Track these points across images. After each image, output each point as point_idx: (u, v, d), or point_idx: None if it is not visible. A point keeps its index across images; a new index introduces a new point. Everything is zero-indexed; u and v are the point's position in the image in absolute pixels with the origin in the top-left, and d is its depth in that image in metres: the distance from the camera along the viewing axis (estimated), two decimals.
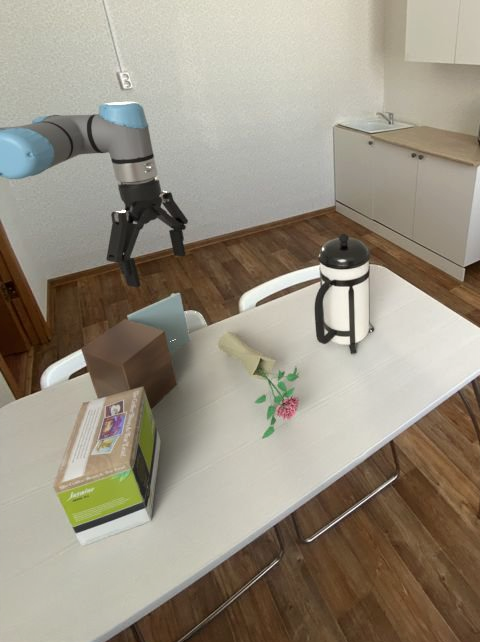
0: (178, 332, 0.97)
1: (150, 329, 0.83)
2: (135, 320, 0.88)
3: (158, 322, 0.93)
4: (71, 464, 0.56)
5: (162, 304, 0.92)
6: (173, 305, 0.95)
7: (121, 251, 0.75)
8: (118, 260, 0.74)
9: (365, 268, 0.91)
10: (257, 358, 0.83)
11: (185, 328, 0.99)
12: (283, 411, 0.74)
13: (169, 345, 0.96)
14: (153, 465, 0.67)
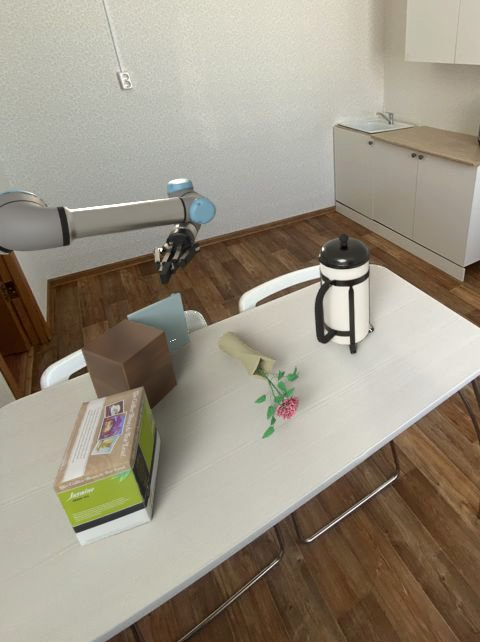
0: (178, 332, 0.97)
1: (150, 329, 0.83)
2: (135, 320, 0.88)
3: (158, 322, 0.93)
4: (71, 464, 0.56)
5: (162, 304, 0.92)
6: (173, 305, 0.95)
7: None
8: None
9: (365, 268, 0.91)
10: (257, 358, 0.83)
11: (185, 328, 0.99)
12: (283, 411, 0.74)
13: (169, 345, 0.96)
14: (153, 465, 0.66)
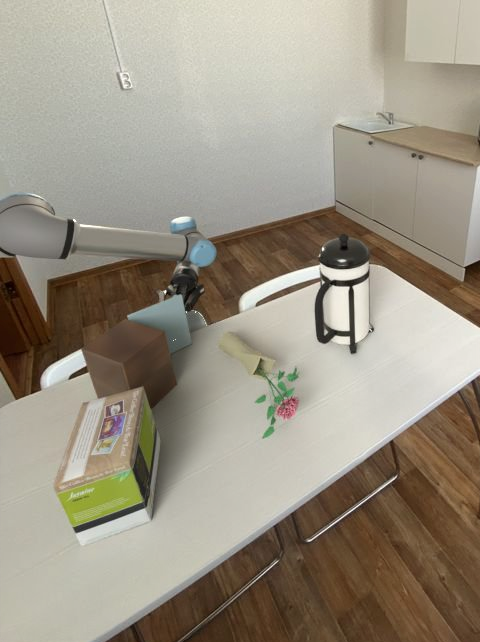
0: (179, 334, 0.97)
1: (150, 329, 0.83)
2: (135, 320, 0.88)
3: (158, 323, 0.92)
4: (71, 464, 0.56)
5: (163, 305, 0.92)
6: (174, 307, 0.94)
7: None
8: None
9: (365, 268, 0.91)
10: (257, 358, 0.83)
11: (187, 330, 0.98)
12: (283, 411, 0.74)
13: (170, 346, 0.96)
14: (153, 465, 0.66)
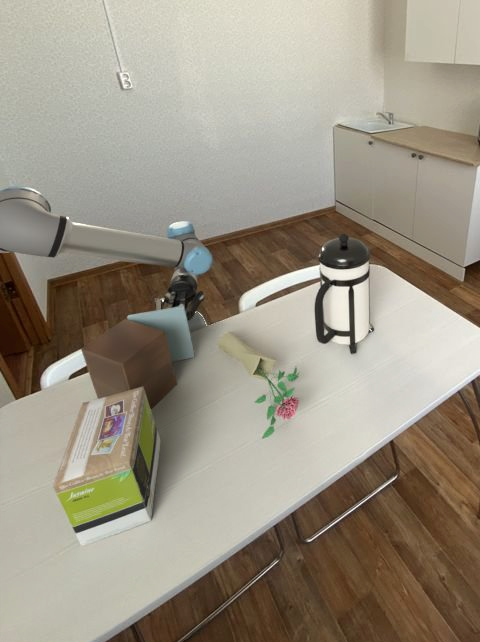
0: (181, 345, 0.93)
1: (150, 329, 0.83)
2: None
3: None
4: (72, 464, 0.56)
5: (163, 313, 0.89)
6: (176, 317, 0.90)
7: None
8: None
9: (365, 268, 0.91)
10: (257, 358, 0.83)
11: (189, 342, 0.93)
12: (283, 411, 0.74)
13: (170, 355, 0.93)
14: (153, 465, 0.67)
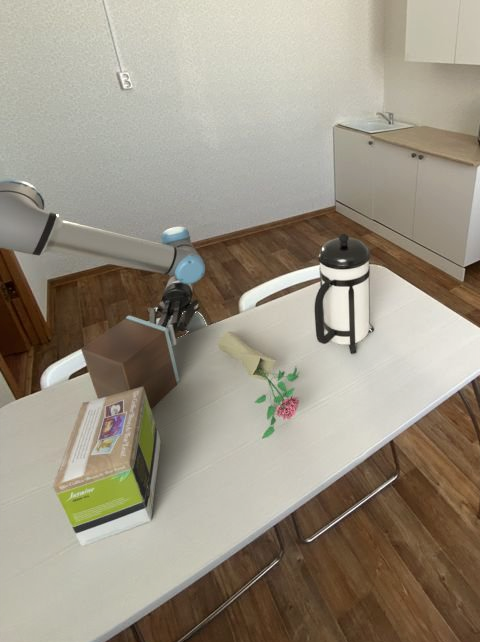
0: None
1: (150, 329, 0.83)
2: None
3: None
4: (71, 464, 0.56)
5: None
6: None
7: None
8: None
9: (365, 268, 0.91)
10: (257, 358, 0.83)
11: None
12: (283, 411, 0.74)
13: None
14: (153, 465, 0.66)
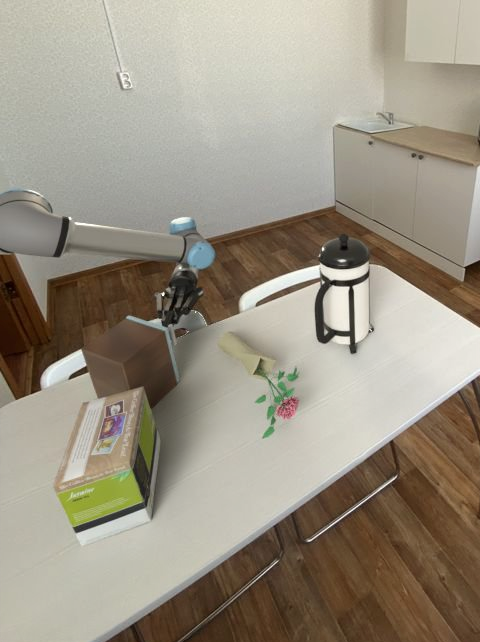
0: None
1: (150, 329, 0.83)
2: None
3: None
4: (72, 464, 0.56)
5: None
6: None
7: None
8: None
9: (365, 268, 0.91)
10: (257, 358, 0.83)
11: None
12: (283, 411, 0.74)
13: None
14: (153, 465, 0.66)
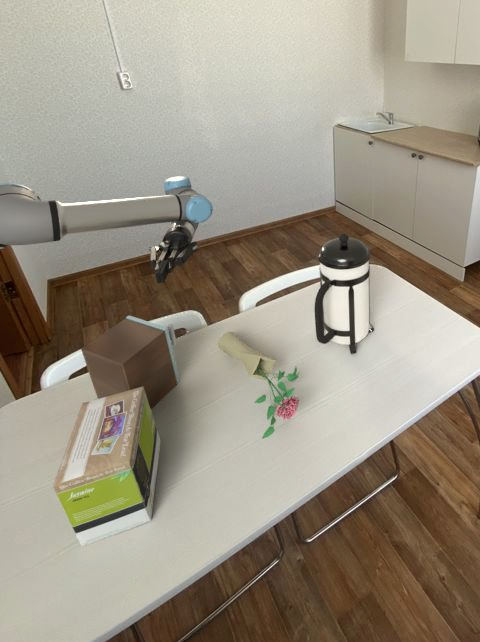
0: None
1: (150, 329, 0.83)
2: None
3: None
4: (71, 464, 0.56)
5: None
6: None
7: None
8: None
9: (365, 268, 0.91)
10: (257, 358, 0.83)
11: None
12: (283, 411, 0.74)
13: None
14: (153, 465, 0.66)
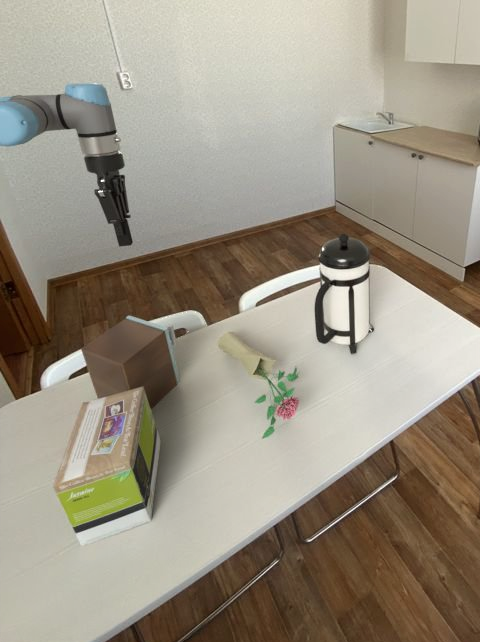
0: None
1: (150, 329, 0.83)
2: None
3: None
4: (72, 464, 0.56)
5: None
6: None
7: (118, 214, 0.90)
8: (120, 221, 0.91)
9: (365, 268, 0.91)
10: (257, 358, 0.83)
11: None
12: (283, 411, 0.74)
13: None
14: (153, 465, 0.66)
